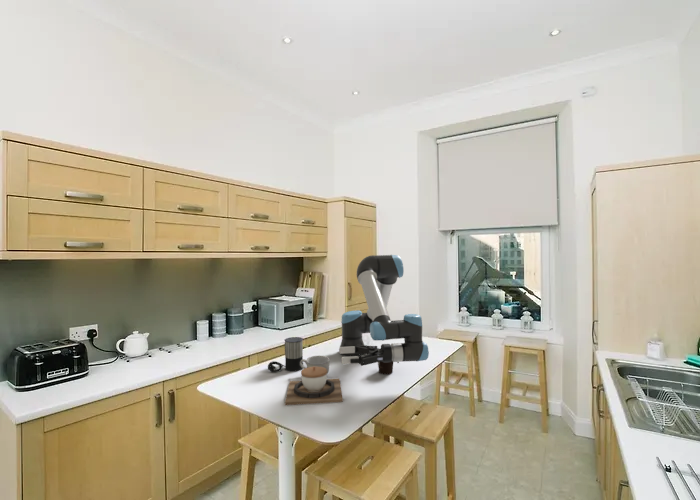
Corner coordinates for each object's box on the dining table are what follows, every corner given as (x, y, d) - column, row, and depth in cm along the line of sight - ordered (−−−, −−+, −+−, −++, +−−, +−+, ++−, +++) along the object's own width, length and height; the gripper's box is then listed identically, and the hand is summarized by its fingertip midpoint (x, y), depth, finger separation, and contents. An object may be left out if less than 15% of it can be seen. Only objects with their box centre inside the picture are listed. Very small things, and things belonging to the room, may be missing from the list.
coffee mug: (394, 375, 159) (393, 354, 159) (375, 374, 160) (375, 353, 160) (395, 367, 170) (395, 347, 170) (378, 366, 172) (378, 346, 172)
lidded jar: (305, 396, 135) (305, 372, 135) (298, 387, 145) (298, 364, 145) (331, 391, 139) (330, 368, 140) (322, 382, 149) (322, 361, 149)
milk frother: (307, 368, 172) (306, 338, 172) (282, 377, 160) (281, 345, 160) (289, 362, 181) (288, 334, 181) (264, 371, 169) (263, 341, 169)
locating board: (289, 383, 152) (289, 377, 152) (339, 380, 154) (339, 375, 154) (285, 405, 130) (284, 398, 130) (342, 401, 132) (342, 395, 132)
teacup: (333, 373, 164) (332, 356, 164) (324, 381, 154) (323, 363, 154) (306, 370, 168) (306, 354, 168) (296, 378, 158) (295, 361, 158)
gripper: (397, 372, 132) (342, 375, 130) (385, 352, 157) (339, 354, 155) (397, 353, 132) (342, 355, 130) (385, 336, 157) (339, 338, 155)
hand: (340, 355), depth 143 cm, fingers open, 13 cm apart
